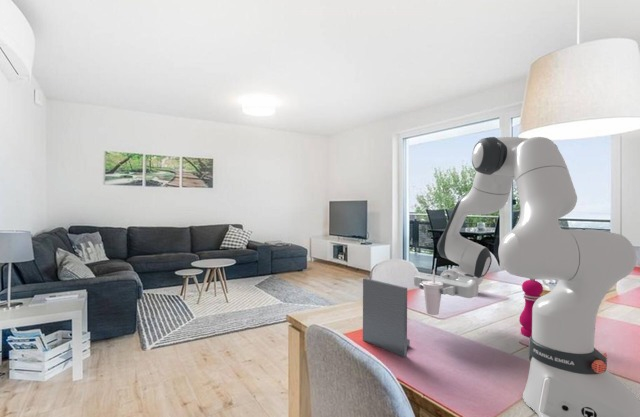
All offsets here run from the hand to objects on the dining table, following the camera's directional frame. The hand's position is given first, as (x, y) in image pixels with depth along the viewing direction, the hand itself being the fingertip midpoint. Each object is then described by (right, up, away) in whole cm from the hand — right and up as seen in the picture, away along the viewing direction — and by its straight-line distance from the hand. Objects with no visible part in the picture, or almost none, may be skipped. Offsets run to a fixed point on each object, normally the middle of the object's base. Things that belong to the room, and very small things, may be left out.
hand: (431, 289), depth 107 cm
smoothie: (+1, -8, +1) cm, 8 cm away
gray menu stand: (-13, -17, -1) cm, 21 cm away
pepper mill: (+36, -17, +7) cm, 41 cm away
